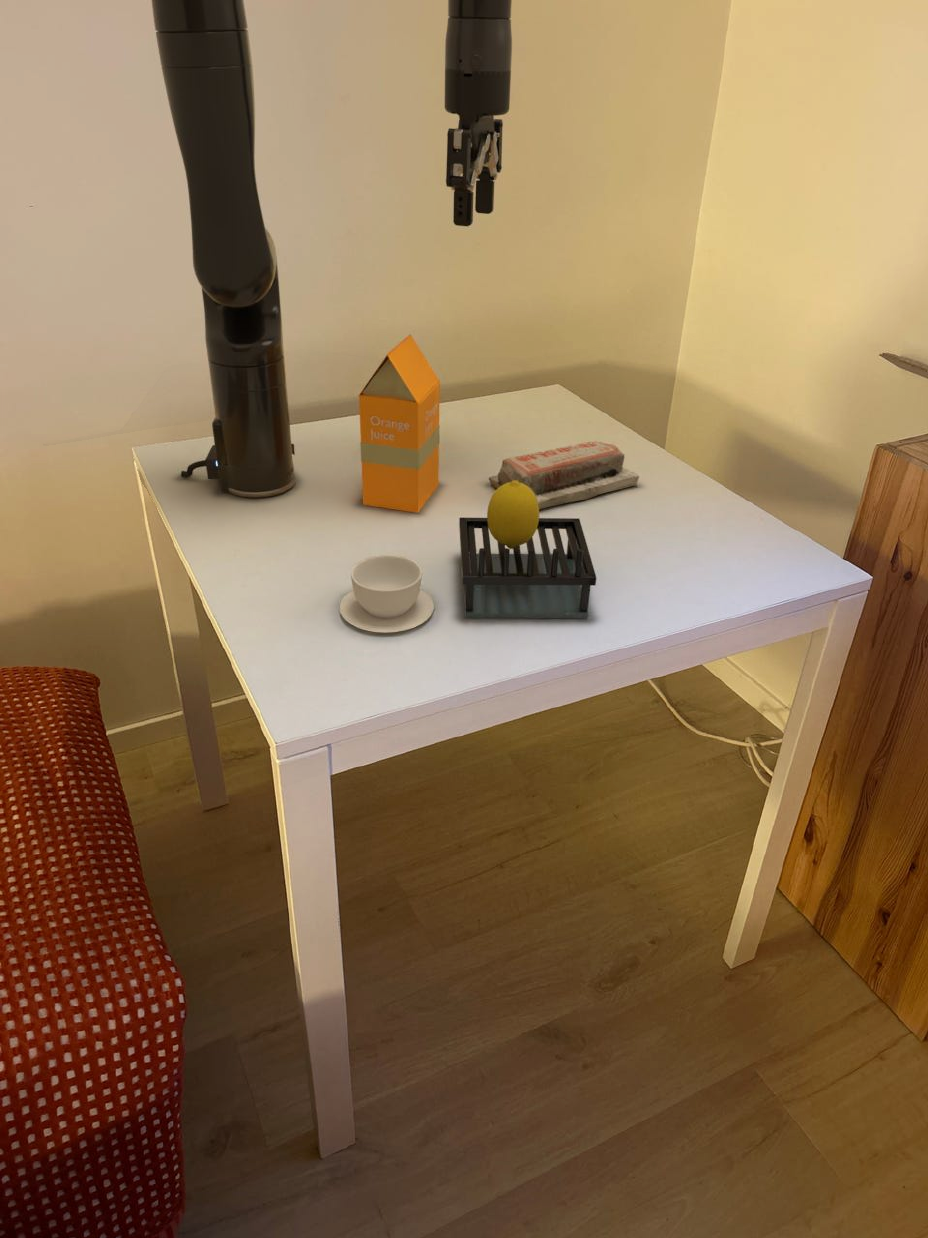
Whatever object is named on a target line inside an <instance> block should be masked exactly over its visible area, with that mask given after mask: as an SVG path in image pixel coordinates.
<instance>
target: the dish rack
mask: <svg viewBox="0 0 928 1238" xmlns="http://www.w3.org/2000/svg"><path fill="white" fill-rule="evenodd" d="M458 521H459V523H458V526H459V528H458V529H459V544H460V562H461V583H462V585H463V601H464V617H465V618H466V619H467V618H468V619H588V617H589V612H588V611H589V602H590V594H591V587H592V586H597V574H596V571H595V568H594V564H593V561H592V558H591V554H590V550H589V548H588V547H589V546H588V543H587V540H586V536H585V533H584V530H583V527H582V526H583V525H582V523H581V519H580V518H575V517H574V518H573V517H572V518H571V517H569V518H565V517H564V518H562V517H561V518H559V517H555V518H554V517H539V522H538V527H537V529H536V530H537V534H538V537H539V542H540V548H541V553H536V549H535V544H534V539H533V538H534V537H532V538H531V539H530V540H529V541H527V542H526V543H525V544H526V549H527V553H522V552H521V547H520V546H521V545H520V546H516V547H515V548H514V549H512V552H513V553H511V549H509V548H508V547H506V545H503V544H501V543H499V542H498V541H497V540H496V542H497V549H498V553H492V548H491V539H490V530H489V527H488V521H487V517H459V518H458ZM475 529H481V534H482V535H481V537H482V544H483V545H482V546H483V547H481V548H479V549H478V553H477V544H476V530H475ZM546 530H551V532H552V538H553V542H554V546H555V548H553V550H552V553H551V550H550V545H549V541H548V538H547V532H546ZM560 530H565V532H566V536H567V544H566V545H567V546H566V552H565V548H564V544H563V539H562V535H561V531H560Z"/></svg>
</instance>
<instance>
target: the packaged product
mask: <svg viewBox="0 0 928 1238" xmlns="http://www.w3.org/2000/svg"><path fill="white" fill-rule="evenodd" d="M624 462H625V453H623V452H622V451H621V450H620V449H619V448H618V446H617V445H615V444H614V443H613V444H612V443H605V442H601V441H597V440H595V441H588V442H581V443H577V444H572V445H567V446H563V447H558V448H557V447H556V448H552V449H547V450H546V449H545V450H542V451H537V452H532V453H526V454H522V455H517V456H513V457H507V458H505V459H502V462H501V467H500V468H499V471H498V472H497V474H496V475H492V476H489V477H488V480H489V483H490V485H492V486H493V487H494V488H496V490H497V489H498V488H499V487H500V486H502V485H503V484H506V483H509V482H512V481H513V480H517V481H518V482H519V483H522V484H524V485H526V486H528V487H529V488H530V489H531V490H532V491H533V492H534V494H535V496H536V498H537V501H538V506H539V510H540V509H545V508H548V507H549V508H550V507H554V506H558V505H562V504H568V503H572V502H578V501H585V500H588V499H591V498H594V497H597V496H600V495H603V494H606V493H609V492H614V491H618V490H622V489H627V488H631V487H635V486H637V484H638V481H639V478H640V475H638V474H637V473H635V472H634V471H631V470H629V469H627V468H625V467H623V466H624Z"/></svg>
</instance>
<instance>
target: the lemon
mask: <svg viewBox="0 0 928 1238" xmlns="http://www.w3.org/2000/svg"><path fill="white" fill-rule="evenodd" d="M486 518H487V521H488V527H489V528H488V529H489V533H490V534H491V536H492V537H493V539H494V540H496V542H497V541H498V542H499V543H501V544H503V545H505V547H506V548H508V549H510V550H513V549H514V548H515V547H516V546H522V545H524V544H526V542H527V541H529V540H530V539H531V538H534V535H535V533H536V532H537V530H538V529H537V527H538V522H539V518H540V509H539V506H538V501H537V498H536V496H535V494H534V492H533V491H532V490H531V489H530V488H529V487H528V486H526V485H524V484H522V483H519V482H518V481H517V480H513V481H512V482H509V483H506V484H503V485H502V486H500V487H499V488H498V489H497V488H496V489H495V491H494V492H493V493H492V495H491V497H490V499H489V502H488V505H487V513H486ZM498 542H497V543H498Z"/></svg>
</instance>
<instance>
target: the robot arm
mask: <svg viewBox="0 0 928 1238" xmlns="http://www.w3.org/2000/svg"><path fill="white" fill-rule="evenodd" d="M244 3H245V2H244V0H151V9H152V16H153V25H154V30H155V31H156V32H155V37H156V43H157V48H158V54H159V60H160V66H161V71H162V72H161V73H162V76H163V77H162V78H163V81H164V86H165V91H166V95H167V100H168V106H169V111H170V114H171V119H172V123H173V128H174V132H175V135H176V140H177V143H178V144H177V145H178V147H179V151H180V154H181V159H182V162H183V163H182V164H183V168H184V171H185V178H186V184H187V191H188V201H189V213H190V214H189V215H190V225H191V227H190V228H191V247H192V248H191V249H192V267H193V271H194V275H195V277H196V279H197V281H198V284H199V285H200V287H201V295H202V302H203V313H204V338H205V348H206V355H207V362H208V368H209V377H210V384H211V392H212V400H213V408H214V418H213V420H212V423H211V425H212V426H211V428H212V435H213V443H214V444H212V445H211V447H210V449H209V451H208V453H207V454H206V455H207V456H206V458H205V459H204V460H198V461H195V462H193V463H191V464H189V465H188V466H187V468H186V470H181V472H180V476H181V477H182V478H189V477H191V476H192V475H193V472H194V470H196V469H200V468H203V467H205V469H206V475H207V480H218V481H219V488H220V492H221V493H230V494H232V495H234V496H237V497H243V498H252V499H253V498H267V497H268V498H269V497H272V496H277V495H280V494H282V493H284V492H286V491H288V490H290V489H291V488H292V487H294V485H295V483H296V475H295V472H294V471H295V466H294V460H293V459H294V458H293V455H294V456H295V455H296V451H295V444H294V443H292V434H291V423H290V422H291V421H290V411H289V398H288V387H287V373H286V361H285V351H284V335H283V334H284V333H283V316H282V306H281V293H280V292H281V291H280V281H279V267H278V258H277V248H276V245H275V242H274V239H273V237H272V235H271V234H270V232H269V230H268V229H267V228H266V225H265V221H264V216H263V212H262V207H261V201H260V195H259V191H258V185H257V184H258V183H257V178H256V177H257V176H256V163H255V162H256V161H255V160H256V159H255V157H256V156H255V153H256V152H255V151H256V150H255V149H256V146H255V145H256V107H255V106H256V102H255V84H254V83H255V81H254V69H253V60H252V51H251V44H250V36H249V30H248V29H249V27H248V21H247V16H246V9H245V4H244ZM512 4H513V0H447V24H446V33H445V43H444V44H445V45H444V110H445V111H446V112H447V113H448V114H452V115H457V116H458V124H457V127H455V128H452V127H451V128H450V127H449V128H448V130H447V134H446V136H447V140H446V141H447V142H446V169H445V170H446V172H445V174H446V175H445V184H446V187H447V188H450V189H451V191H453V215H452V216H453V218H452V219H453V221H452V222H453V224H454V225H455V226H459V227H470V226H471V225H472V224H473V221H474V210H475V212H476V213H477V214H484V215H485V214H486V215H489V214H492V213H493V212H494V203H495V181H496V180H497V178H498V174H500V173H501V171H502V168H503V167H502V163H503V162H502V160H503V159H502V158H503V157H502V156H503V155H502V154H503V127H504V122H503V119H501V118H495V117H496V116H497V117H498V116H504V115H507V114H508V112H509V111H510V102H511V81H512V61H513V60H512V58H513V33H512V19H511V18H512V7H513V5H512ZM474 189H475V196H474ZM474 197H475V198H474ZM474 199H475V200H474ZM474 203H475V204H474Z"/></svg>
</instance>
